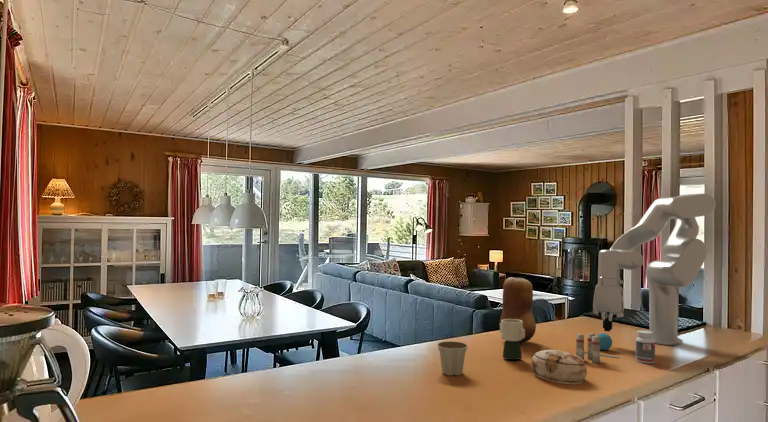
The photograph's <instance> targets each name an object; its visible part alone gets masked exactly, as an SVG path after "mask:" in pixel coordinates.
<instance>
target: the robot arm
mask: <svg viewBox="0 0 768 422" xmlns="http://www.w3.org/2000/svg"><path fill="white" fill-rule="evenodd" d="M716 202H717V201H716V200H715V198H714V197H713V196H712V195H710V194H708V193H692V194H691V193H690V194H688V193H687V194H682V195H677V196H669V197H668V196H665V197H659V198H657V199H655V200H654V201H653V202H652V203H651V204H650V206H649V207H648V209H647V210H646V211H645V213H644V214H643V216H642V217H641V218H640V219H639V221H638V223H637V224H636V225H634V226H633V227H631V228H630V229H629V230H627V231H625V233H623V234H622V235H621V236H619V237H618V238H617V239H616V240H615V241H614V242H613V244H612V245H611V247H610V248H609V249H600V250H599V252H598V263H597V265H598V268H597V284H596V285H595V288H594V292H593V293H594V294H593V300H592V302H593V303H592V314H595V315H597V316H599V317H600V318H601V320H602V329H603V331H604V332H611V330H613V321H614V320H615V319H616V318H622V317H624V310H625V307H624V306H625V304H624V303H625V302H624V301H625V300H624V291H623V287H622V286H621V285H624V284H625V281H624V280H621V277H620V275H621V270H625V271H626V270H627V271H635V270H638V269H640V268H641V267H642V266H643V264H644V257H643V255H642V254H641V253H640V252H639V251H636V250H634V249H635V248H636V247H638V246H640V245H642V244H643V245H644V244H645V243H648V242H651V241H653V240H656V239H657V238H658V237H659V236H660V234H661V233H662V231H663V230H664V228H665V227H666V225H667V224H668V223H669V221H670V220H674V221H675V222H674V223H675V225H674V226H673V228H672V231H671V233H669V236H668V238H667V239H666V240H665V243H664V245H663V247H662V250H661V251H662V256H663V257H664V258H665V259H666V260H665V259H656V260H654V261H651V262H649V263H648V264H647V267H646V269H645V276H646V282H647V285H648V299H649V301H648V307H649V309H648V310H649V311H648V313H649V314H648V315H649V316H648V317H649V319H648V320H649V326H648V327H649V331H651V332H653V337H652V338H653V339H654V340H655V344H658V345H665V346H679V345H682V344H683V339H681V338H680V337H678V335H679V334H678V296H677V292H676V289H675V288H687V287H688V286H690V285H691V284H693V282H694V280H695V278H696V277H697V275H698V273H699V272H700V270H701V268H702V266H703V265H704V262H705V261H706V259H707V256H708V255H707V254H708V249H707V245H706V243H705V242H704V241H703V240H701V239H699V238H697V237H698V235H699V232H700V227H699V223H698V222H697V219H696V218H699V217H705V216H709V215H711V214H712V213H713V212H714V211H715V209H716V207H717V204H716ZM607 313H608V314H609V315H607Z"/></svg>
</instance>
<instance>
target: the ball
mask: <svg viewBox="0 0 768 422" xmlns="http://www.w3.org/2000/svg"><path fill="white" fill-rule="evenodd" d="M595 336H598V337H600V351H608V350H610V349H611V347H612V346H613V339H612V337H611V336H610V335H609V334H607V333H604V332H600V333H598V334H597V335H596V334H595Z"/></svg>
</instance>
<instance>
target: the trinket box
mask: <svg viewBox="0 0 768 422" xmlns="http://www.w3.org/2000/svg"><path fill="white" fill-rule="evenodd" d="M586 365H587V364H586V362H585V359H584V360H583V359H581V358H580V357H578V356H576V354H573V353H570V352H568V351H564V350H560V349H559V350H558V349H544V350H540V351H537V352H535V353H534V355H533V356H532V357H531V369H532V370H533V374H534V375H535V376H536V377H538V378H541V379H543V380H546V381H548V382H553V383H557V384H563V383H564V385H581V384H584V382H585V379H586V378H587V375H588V369H587V366H586Z"/></svg>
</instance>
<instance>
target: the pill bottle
mask: <svg viewBox="0 0 768 422" xmlns="http://www.w3.org/2000/svg"><path fill="white" fill-rule="evenodd" d="M636 332H637V333H636V334H637V337H636V338H635V360H636V361H637V362H638V363H643V364H655V363H656V345H655V344H656V343H655V340H654V339H653V338H652V337H653V332H651V331H650V330H646V329H645V330H644V329H643V330H641V329H639V330H637V331H636Z"/></svg>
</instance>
